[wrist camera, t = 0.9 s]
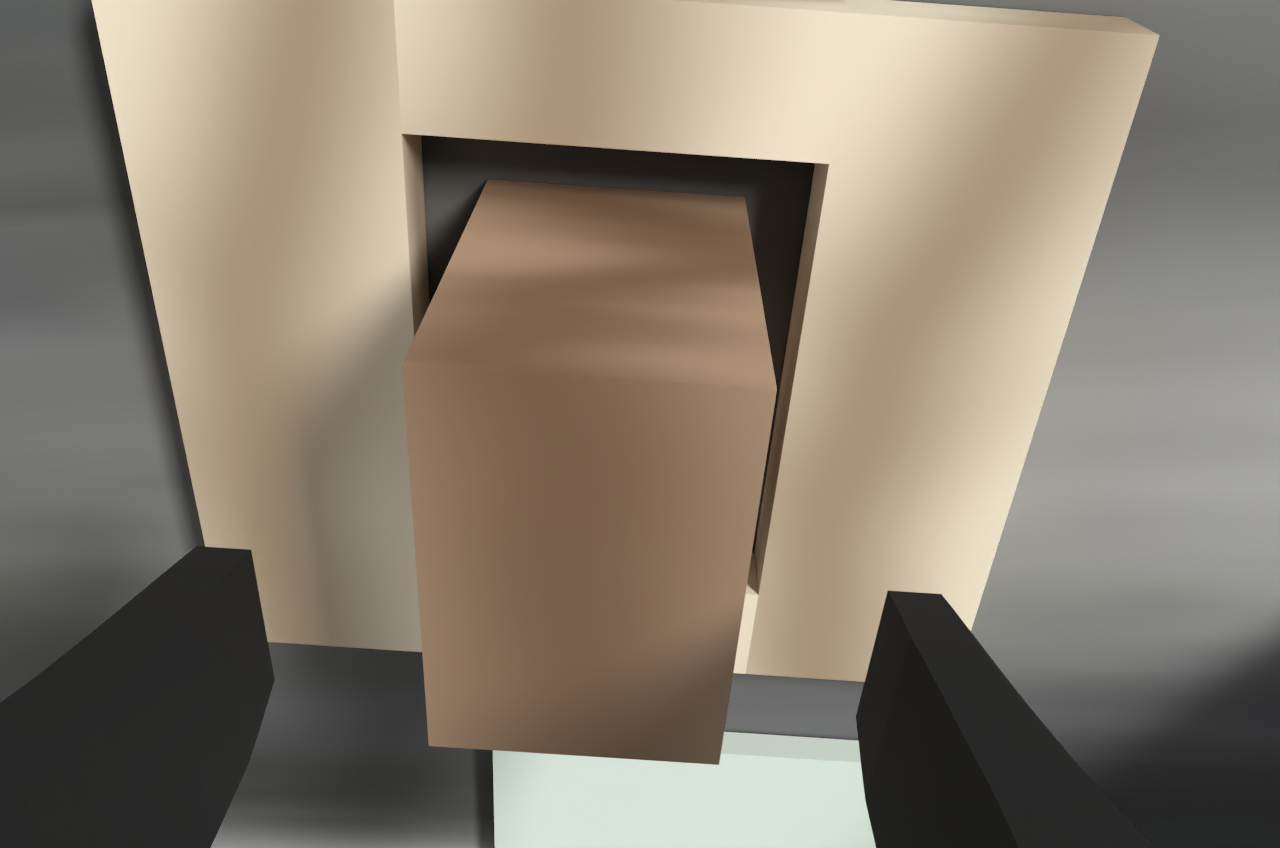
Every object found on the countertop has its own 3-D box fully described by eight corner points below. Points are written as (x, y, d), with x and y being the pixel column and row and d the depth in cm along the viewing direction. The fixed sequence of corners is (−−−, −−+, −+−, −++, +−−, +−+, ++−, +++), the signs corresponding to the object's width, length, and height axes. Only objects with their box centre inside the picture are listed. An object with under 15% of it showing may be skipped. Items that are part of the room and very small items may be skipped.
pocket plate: (1125, 17, 14) (1159, 35, 13) (939, 642, 21) (952, 687, 20) (125, -55, 14) (82, -43, 13) (246, 596, 21) (224, 639, 20)
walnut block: (744, 196, 16) (776, 390, 11) (707, 504, 19) (719, 765, 14) (488, 178, 16) (402, 363, 11) (493, 489, 19) (428, 746, 14)
